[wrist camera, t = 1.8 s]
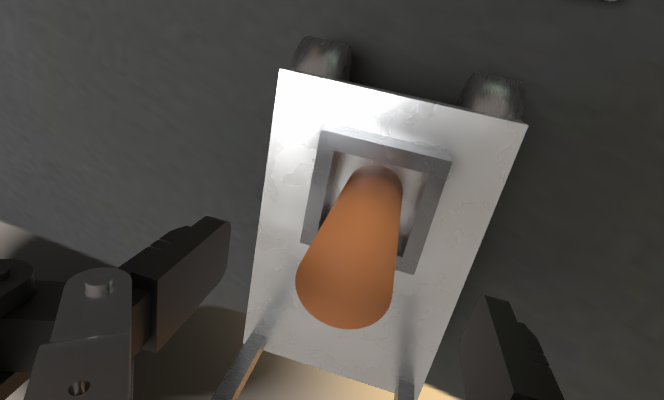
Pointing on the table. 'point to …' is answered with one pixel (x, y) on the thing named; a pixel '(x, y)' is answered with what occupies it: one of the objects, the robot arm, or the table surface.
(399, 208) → the pin
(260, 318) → the trolley
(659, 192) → the table surface
